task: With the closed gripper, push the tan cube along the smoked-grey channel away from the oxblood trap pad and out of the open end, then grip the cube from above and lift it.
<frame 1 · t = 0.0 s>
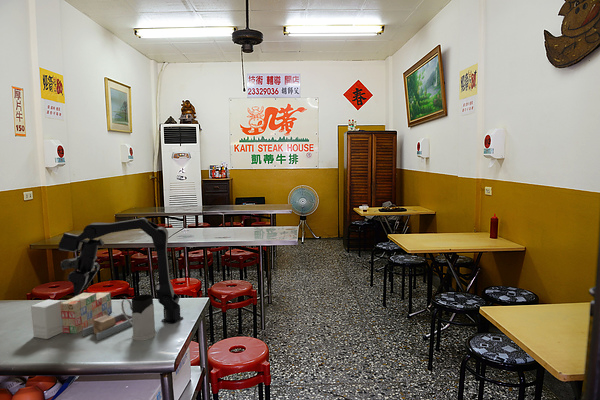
hand: (80, 291, 150), 15 cm above the table, tool pointing down, fingers open, 9 cm apart
trap channel: (110, 329, 151), on the table
stack of blocks: (89, 322, 158), on the table
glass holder: (138, 334, 146), on the table
supplement box: (48, 334, 147), on the table
tan cube: (104, 331, 149), resting in trap channel
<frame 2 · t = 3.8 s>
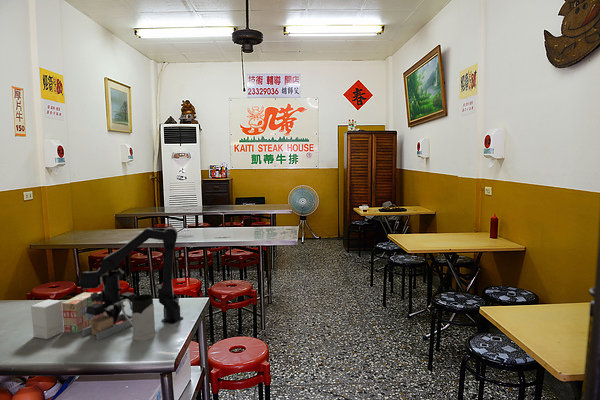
hand: (113, 323, 152), 2 cm above the table, tool pointing down, fingers closed
tan cube: (102, 332, 148), resting in trap channel, touching gripper
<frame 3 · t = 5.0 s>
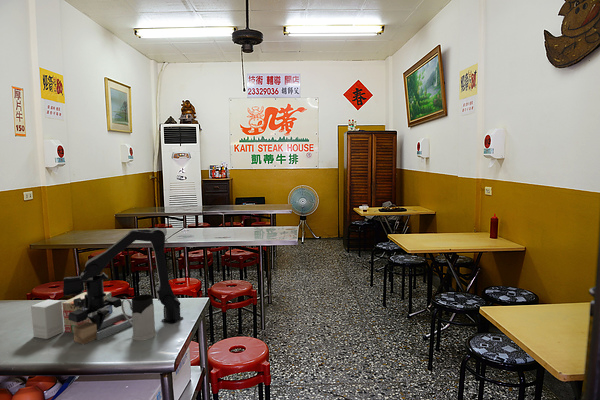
hand: (97, 330, 146), 2 cm above the table, tool pointing down, fingers closed
tan cube: (85, 339, 142), on the table, touching gripper
everything else where it was.
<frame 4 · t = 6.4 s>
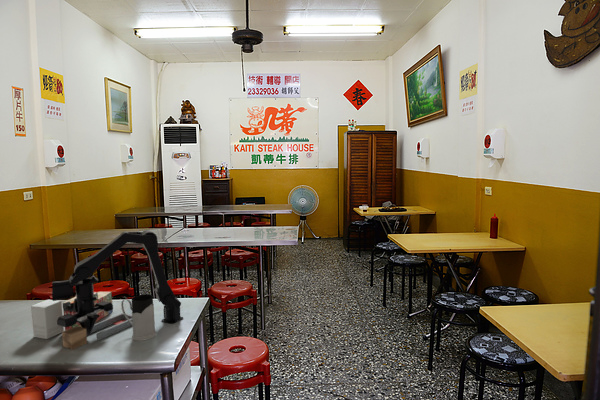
hand: (87, 334, 142), 2 cm above the table, tool pointing down, fingers closed
tan cube: (75, 344, 138), on the table, touching gripper
everything else where it was.
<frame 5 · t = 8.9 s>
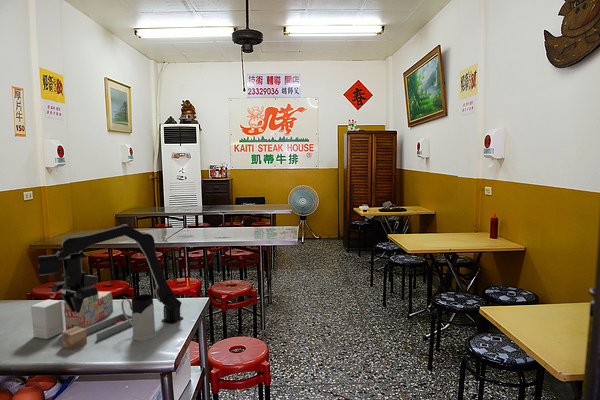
hand: (76, 312, 138), 12 cm above the table, tool pointing down, fingers closed
tan cube: (75, 345, 138), on the table
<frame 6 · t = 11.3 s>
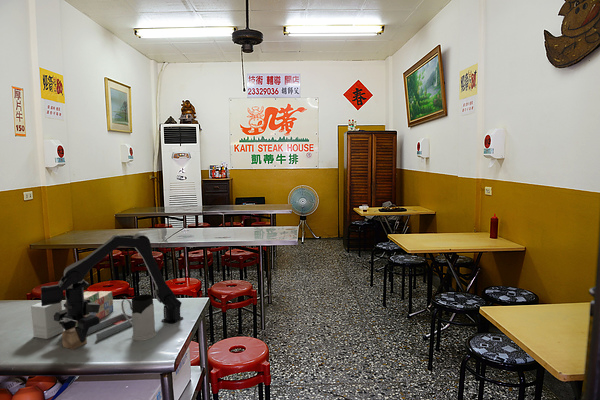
hand: (78, 340, 139), 1 cm above the table, tool pointing down, fingers closed on tan cube, 5 cm apart
tan cube: (75, 344, 138), on the table, touching gripper
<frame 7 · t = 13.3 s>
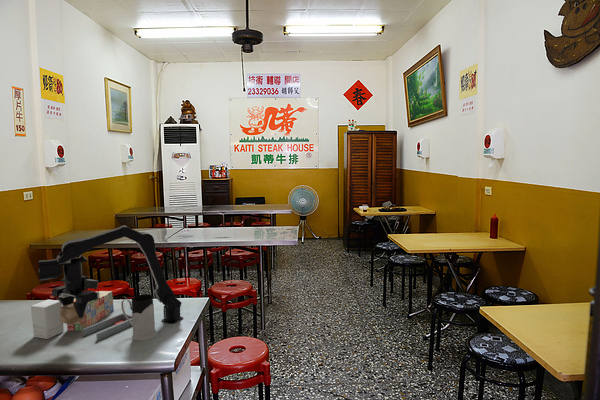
hand: (76, 316, 138), 10 cm above the table, tool pointing down, fingers closed on tan cube, 5 cm apart
tan cube: (73, 320, 137), point 9 cm above the table, touching gripper
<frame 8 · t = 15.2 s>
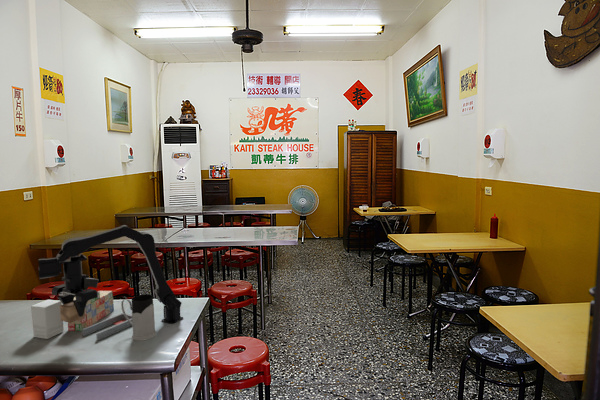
hand: (76, 314, 138), 11 cm above the table, tool pointing down, fingers closed on tan cube, 5 cm apart
tan cube: (73, 318, 137), point 10 cm above the table, touching gripper
at the end: the gripper is holding tan cube; tan cube inside the target area (0.0 cm from its centre), point 9.9 cm above the table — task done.
